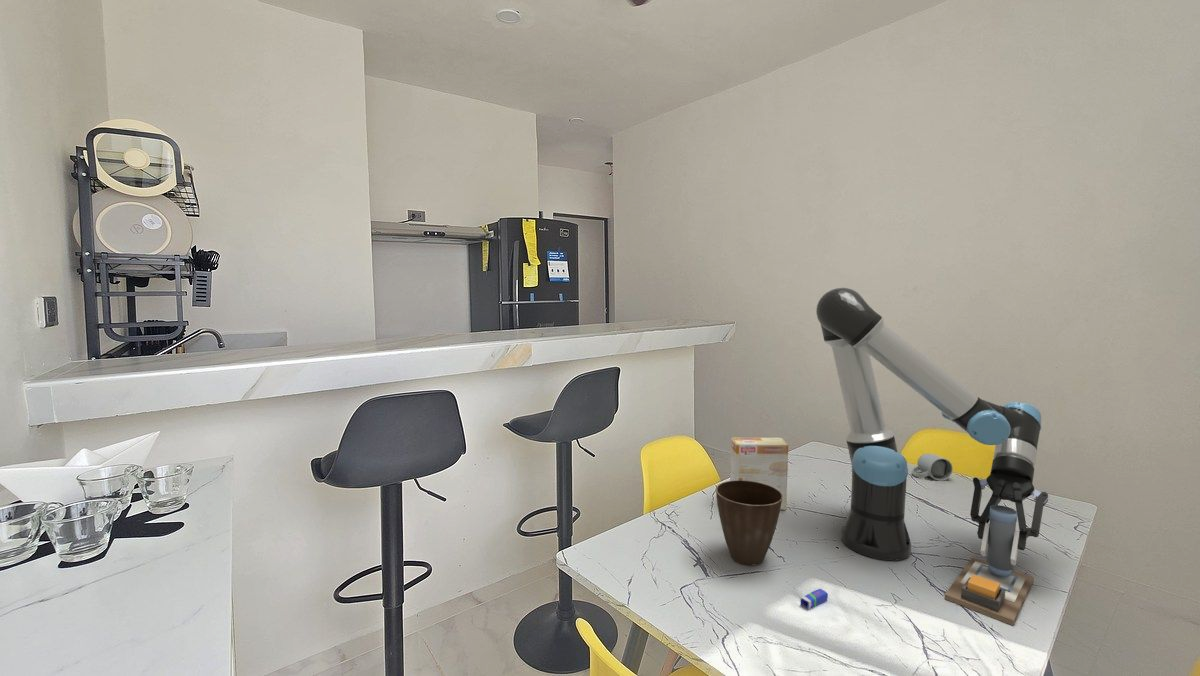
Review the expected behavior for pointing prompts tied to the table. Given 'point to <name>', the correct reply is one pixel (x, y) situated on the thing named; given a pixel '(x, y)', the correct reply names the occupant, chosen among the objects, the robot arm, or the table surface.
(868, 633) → the table surface
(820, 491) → the table surface
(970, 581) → the button
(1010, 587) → the wooden board
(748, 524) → the plant pot
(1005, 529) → the cup
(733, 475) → the coffeecake box
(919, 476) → the ceramic mug
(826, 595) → the eraser
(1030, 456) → the robot arm
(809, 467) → the table surface
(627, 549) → the table surface
